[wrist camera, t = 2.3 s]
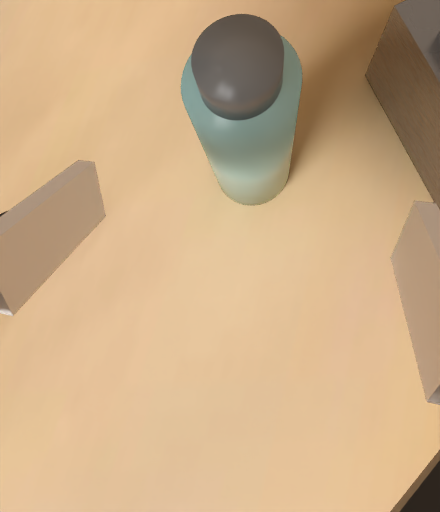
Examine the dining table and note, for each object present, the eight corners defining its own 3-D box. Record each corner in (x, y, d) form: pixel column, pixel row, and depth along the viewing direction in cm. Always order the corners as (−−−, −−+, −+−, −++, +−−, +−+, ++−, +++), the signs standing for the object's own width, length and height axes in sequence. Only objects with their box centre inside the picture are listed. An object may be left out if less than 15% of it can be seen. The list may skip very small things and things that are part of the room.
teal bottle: (206, 154, 26) (152, 33, 14) (271, 124, 25) (272, -27, 14) (233, 217, 25) (200, 142, 13) (301, 187, 25) (329, 82, 13)
